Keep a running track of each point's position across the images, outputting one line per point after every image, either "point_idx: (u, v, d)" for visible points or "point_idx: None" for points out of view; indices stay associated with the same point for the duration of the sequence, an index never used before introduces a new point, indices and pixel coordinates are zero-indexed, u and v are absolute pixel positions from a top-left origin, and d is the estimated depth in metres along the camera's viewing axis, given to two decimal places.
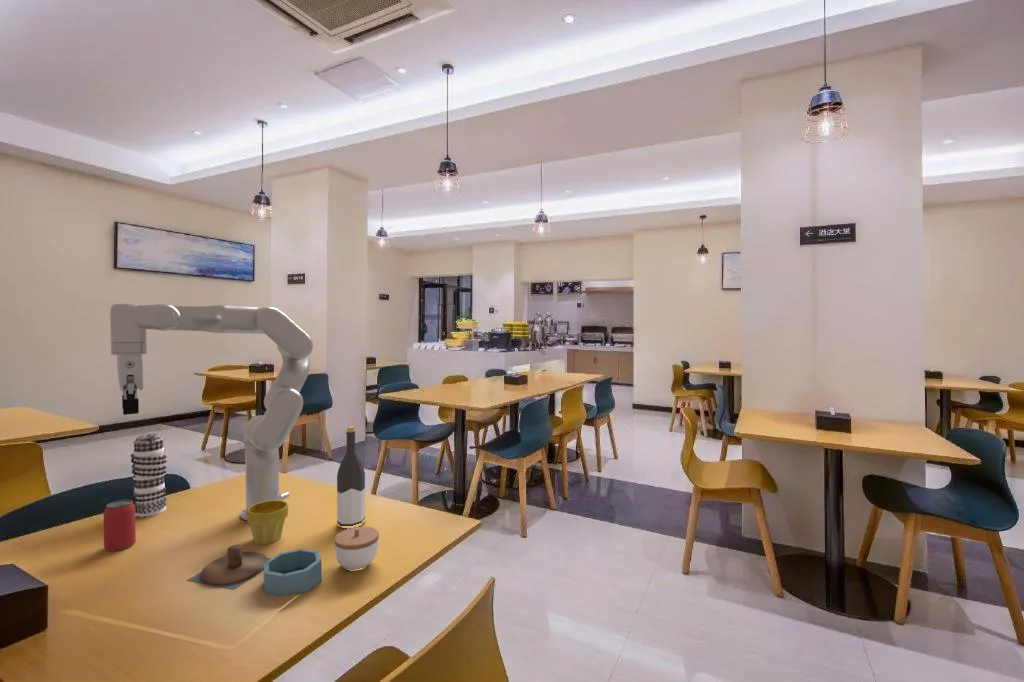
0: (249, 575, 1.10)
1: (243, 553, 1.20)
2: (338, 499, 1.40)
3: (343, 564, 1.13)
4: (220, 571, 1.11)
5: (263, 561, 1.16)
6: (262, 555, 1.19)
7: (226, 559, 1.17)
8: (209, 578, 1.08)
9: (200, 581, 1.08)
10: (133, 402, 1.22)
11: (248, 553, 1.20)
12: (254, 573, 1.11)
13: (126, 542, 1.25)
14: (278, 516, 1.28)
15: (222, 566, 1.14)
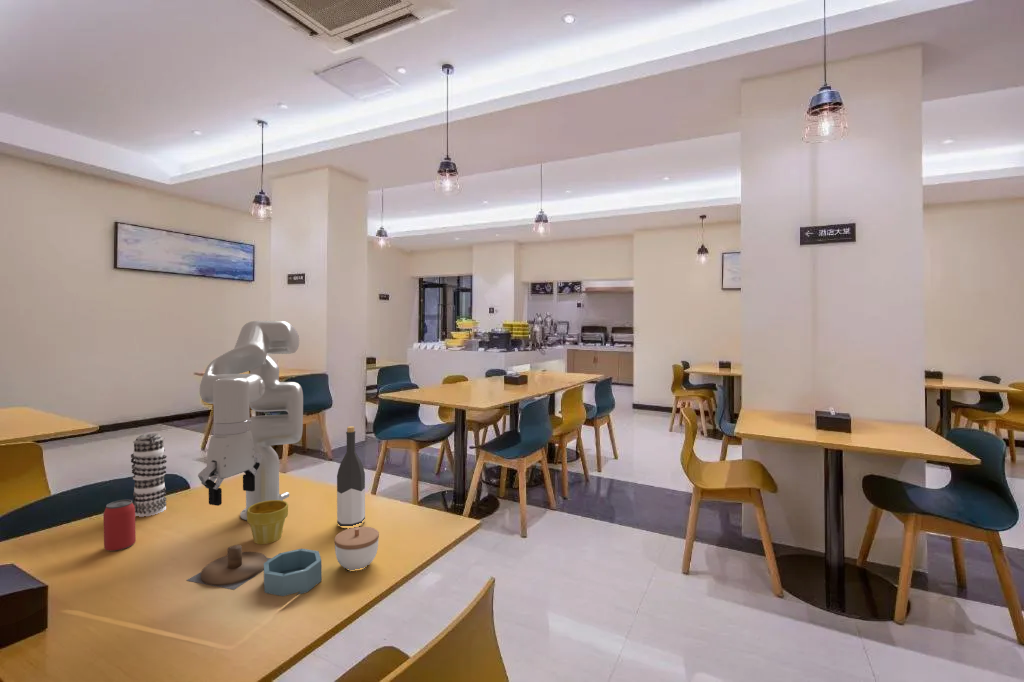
0: (249, 575, 1.10)
1: (243, 553, 1.20)
2: (338, 499, 1.40)
3: (343, 564, 1.13)
4: (220, 571, 1.11)
5: (263, 561, 1.16)
6: (262, 555, 1.19)
7: (226, 559, 1.17)
8: (209, 578, 1.08)
9: (200, 581, 1.08)
10: None
11: (248, 553, 1.20)
12: (254, 573, 1.11)
13: (126, 542, 1.25)
14: (278, 516, 1.28)
15: (222, 566, 1.14)
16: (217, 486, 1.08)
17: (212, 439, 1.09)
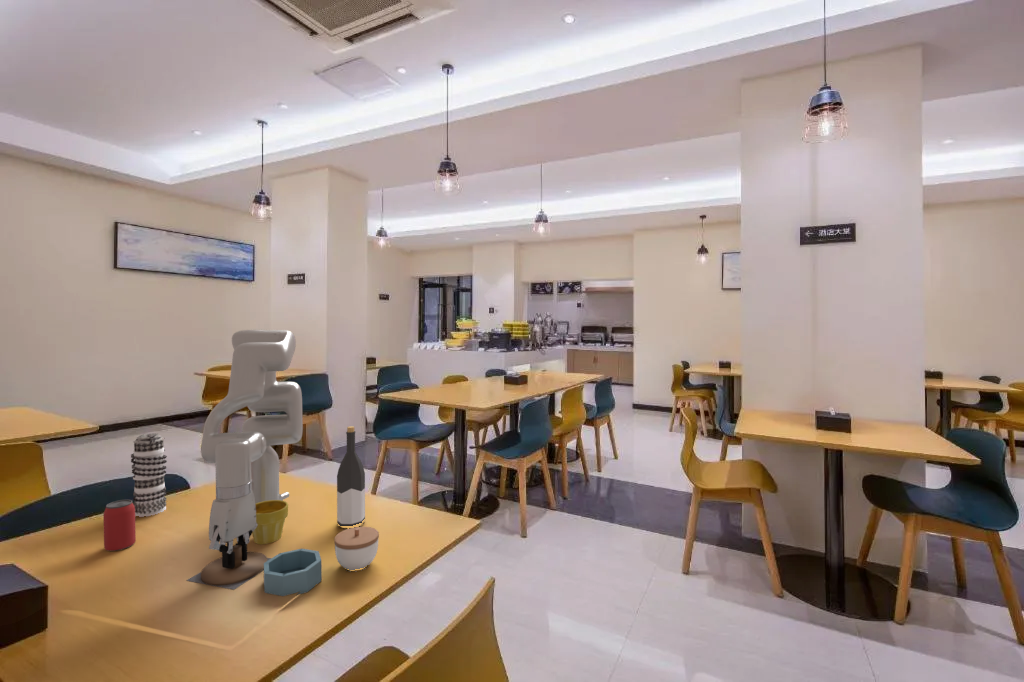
0: (249, 575, 1.10)
1: None
2: (338, 499, 1.40)
3: (343, 564, 1.13)
4: (220, 571, 1.11)
5: (263, 561, 1.16)
6: (262, 555, 1.19)
7: None
8: (209, 578, 1.08)
9: (200, 581, 1.08)
10: None
11: (248, 553, 1.20)
12: (254, 573, 1.11)
13: (126, 542, 1.25)
14: (278, 516, 1.28)
15: None
16: (230, 550, 1.11)
17: (214, 504, 1.09)
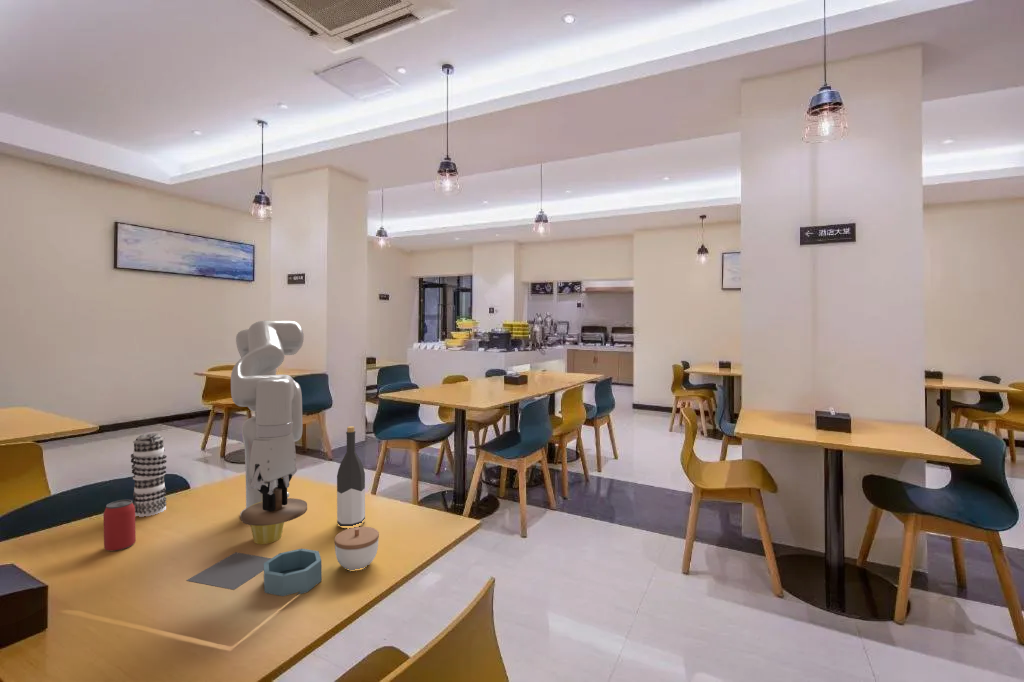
0: (290, 517, 1.06)
1: None
2: (338, 499, 1.40)
3: (343, 564, 1.13)
4: (260, 513, 1.07)
5: (303, 505, 1.12)
6: (302, 501, 1.15)
7: None
8: (250, 518, 1.04)
9: (200, 581, 1.08)
10: None
11: (287, 499, 1.16)
12: (295, 515, 1.07)
13: (126, 542, 1.25)
14: None
15: (262, 509, 1.10)
16: (271, 491, 1.07)
17: (255, 442, 1.05)
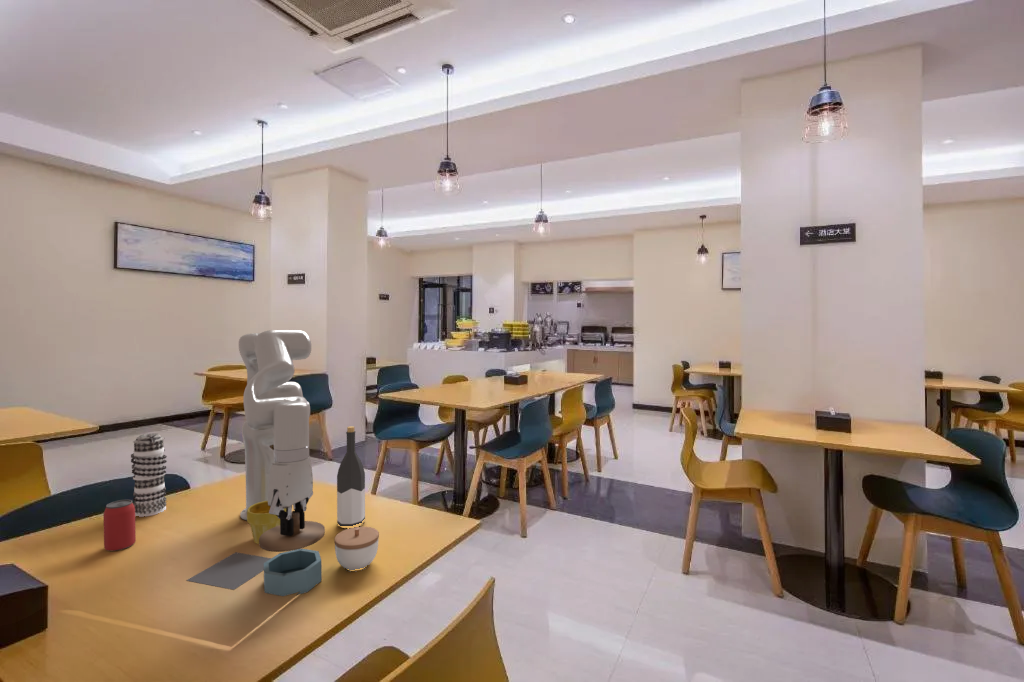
0: (310, 542, 1.05)
1: None
2: (338, 499, 1.40)
3: (343, 564, 1.13)
4: (278, 538, 1.06)
5: (321, 529, 1.11)
6: (318, 524, 1.14)
7: None
8: (269, 544, 1.03)
9: (200, 581, 1.08)
10: None
11: None
12: (314, 540, 1.06)
13: (126, 542, 1.25)
14: None
15: None
16: (289, 516, 1.06)
17: (274, 467, 1.04)
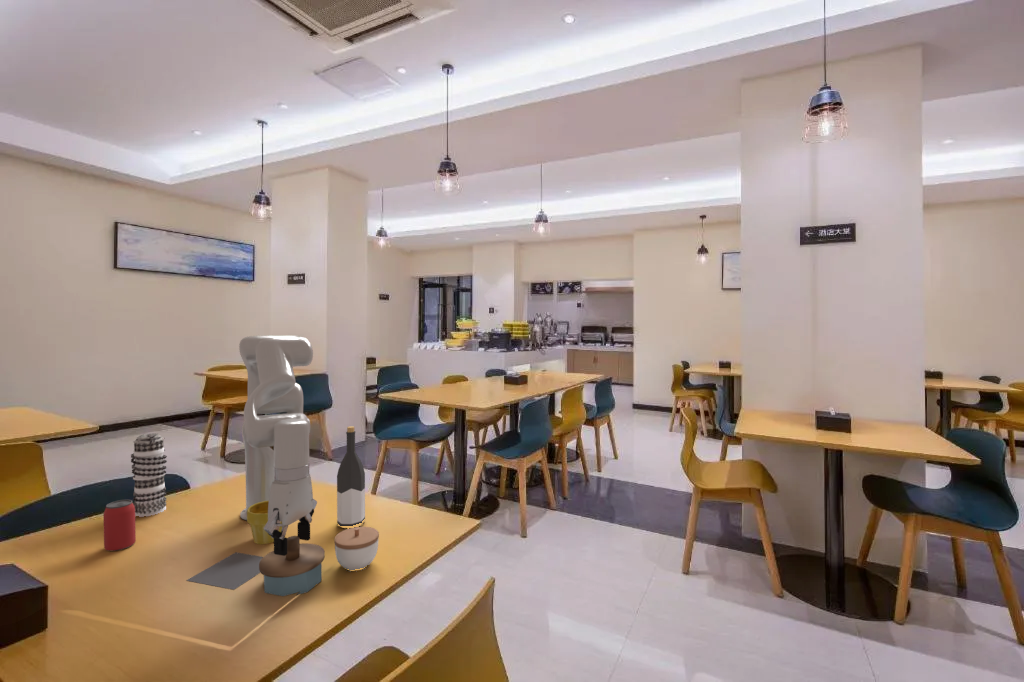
0: (310, 567, 1.06)
1: None
2: (338, 499, 1.40)
3: (343, 564, 1.13)
4: (278, 563, 1.07)
5: (321, 553, 1.11)
6: (318, 547, 1.14)
7: None
8: (269, 570, 1.04)
9: (200, 581, 1.08)
10: None
11: (303, 545, 1.15)
12: (314, 565, 1.07)
13: (126, 542, 1.25)
14: None
15: (280, 558, 1.09)
16: (283, 536, 1.05)
17: (274, 486, 1.04)
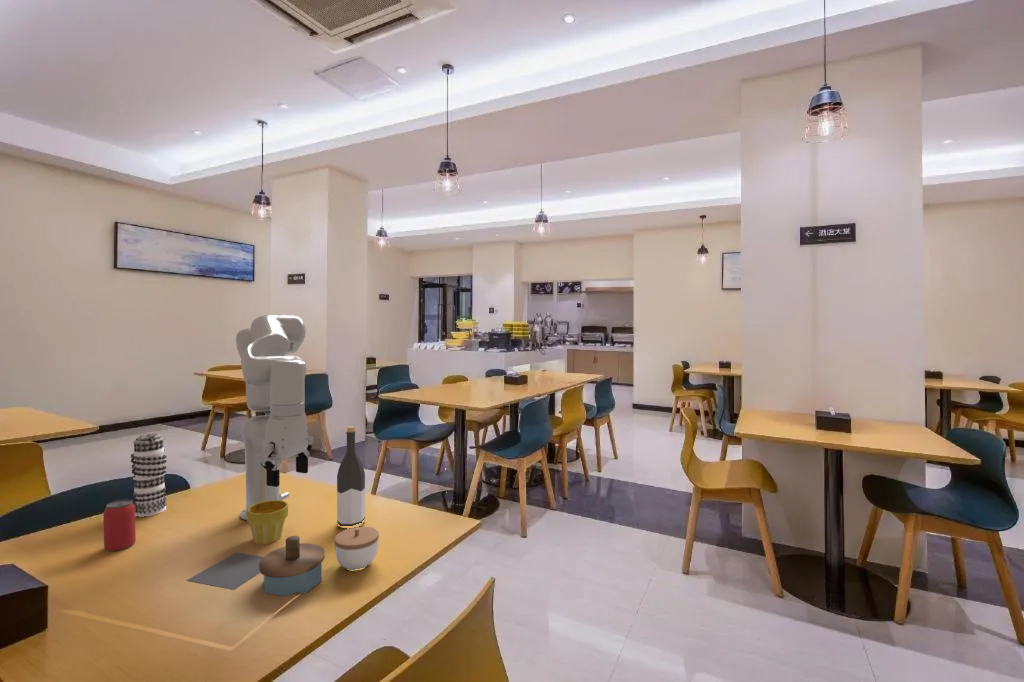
0: (310, 567, 1.06)
1: None
2: (338, 499, 1.40)
3: (343, 564, 1.13)
4: (278, 563, 1.07)
5: (321, 553, 1.11)
6: (318, 547, 1.14)
7: (282, 551, 1.12)
8: (269, 570, 1.04)
9: (200, 581, 1.08)
10: None
11: (303, 545, 1.15)
12: (314, 565, 1.07)
13: (126, 542, 1.25)
14: (278, 516, 1.28)
15: (280, 558, 1.09)
16: (275, 467, 1.08)
17: (270, 421, 1.08)
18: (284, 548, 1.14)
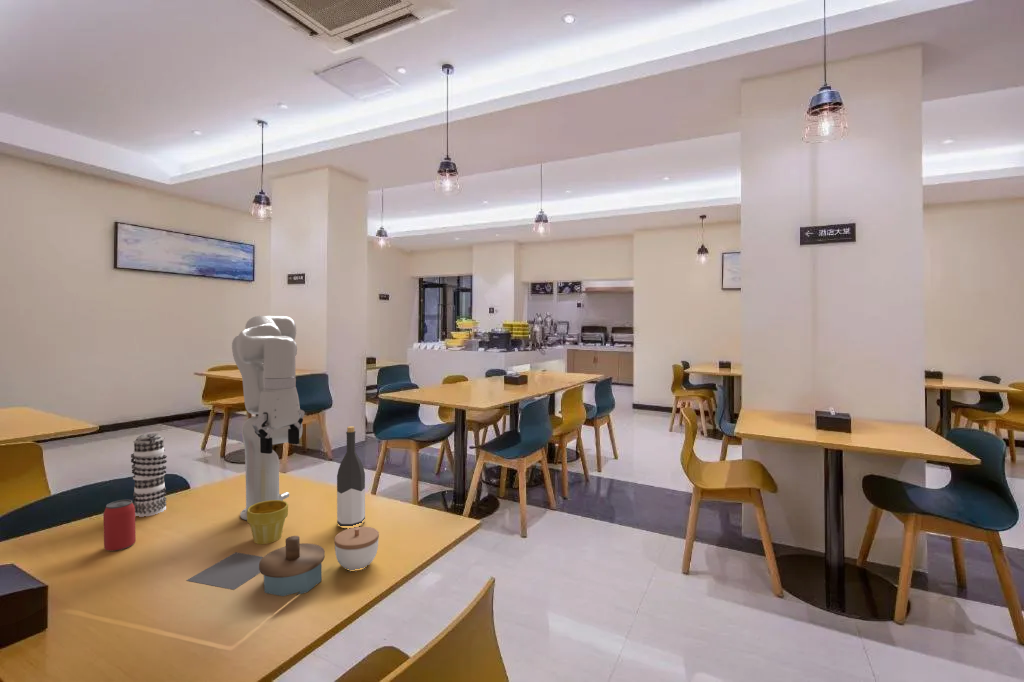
0: (310, 567, 1.06)
1: None
2: (338, 499, 1.40)
3: (343, 564, 1.13)
4: (278, 563, 1.07)
5: (321, 553, 1.11)
6: (318, 547, 1.14)
7: (282, 551, 1.12)
8: (269, 570, 1.04)
9: (200, 581, 1.08)
10: None
11: (303, 545, 1.15)
12: (314, 565, 1.07)
13: (126, 542, 1.25)
14: (278, 516, 1.28)
15: (280, 558, 1.09)
16: (268, 436, 1.17)
17: (263, 393, 1.18)
18: (284, 548, 1.14)
